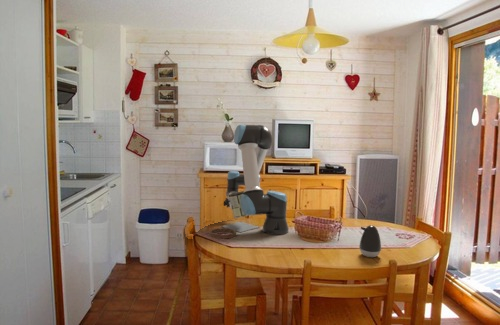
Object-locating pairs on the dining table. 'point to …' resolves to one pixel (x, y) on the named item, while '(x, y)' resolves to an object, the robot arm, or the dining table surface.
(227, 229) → the walnut ring collar
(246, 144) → the robot arm
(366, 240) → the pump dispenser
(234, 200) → the coffee can
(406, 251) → the dining table surface
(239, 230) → the slate mat
